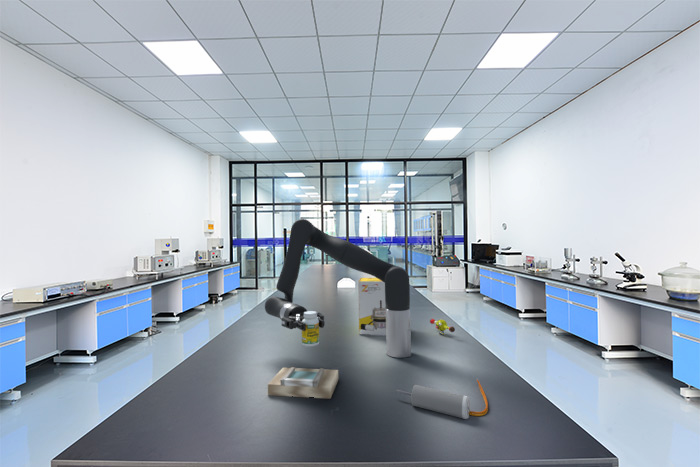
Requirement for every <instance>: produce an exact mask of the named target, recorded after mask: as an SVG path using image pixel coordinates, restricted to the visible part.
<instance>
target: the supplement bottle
mask: <svg viewBox="0 0 700 467" xmlns="http://www.w3.org/2000/svg"><path fill="white" fill-rule="evenodd" d="M317 313H318V312H317V311H313V310H307V312H304V318H305V319H303V320H302V322H304V323H305V324H306V330H305V331H302V330H301V344H302V345H303V346H305V347H315V346H317V345H319V343H320V327H319V320H318V319H317V318H316V317H317Z"/></svg>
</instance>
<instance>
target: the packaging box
mask: <svg viewBox="0 0 700 467" xmlns="http://www.w3.org/2000/svg"><path fill="white" fill-rule="evenodd" d="M357 284H358V334H372V335H371V336H386V304H385V283H384V282H383V281H381V280H380V279H378V278H376V277H360V278H359V279H358V283H357Z"/></svg>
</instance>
